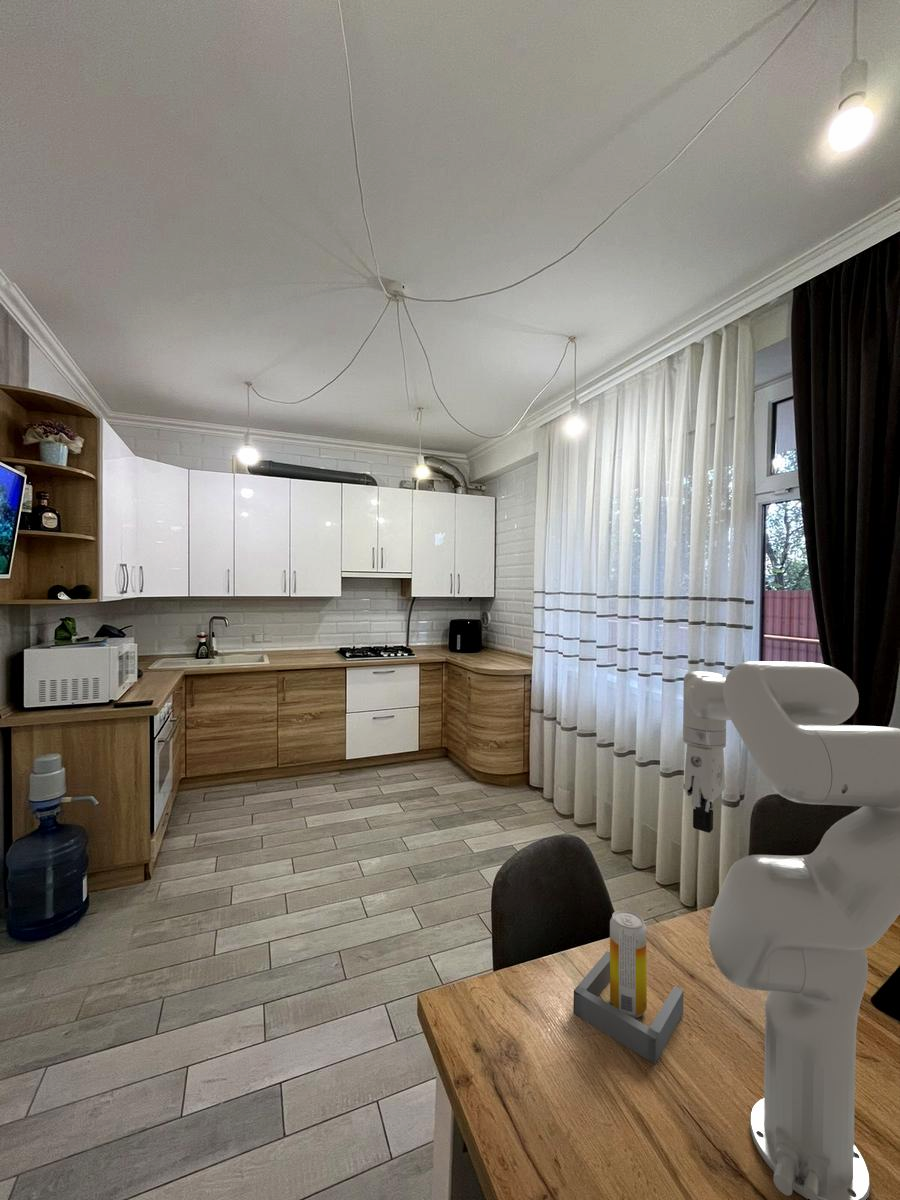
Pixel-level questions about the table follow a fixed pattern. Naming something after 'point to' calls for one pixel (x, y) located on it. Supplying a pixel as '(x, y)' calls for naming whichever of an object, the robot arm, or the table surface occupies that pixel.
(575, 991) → the corral
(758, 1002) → the table surface
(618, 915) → the beer can
